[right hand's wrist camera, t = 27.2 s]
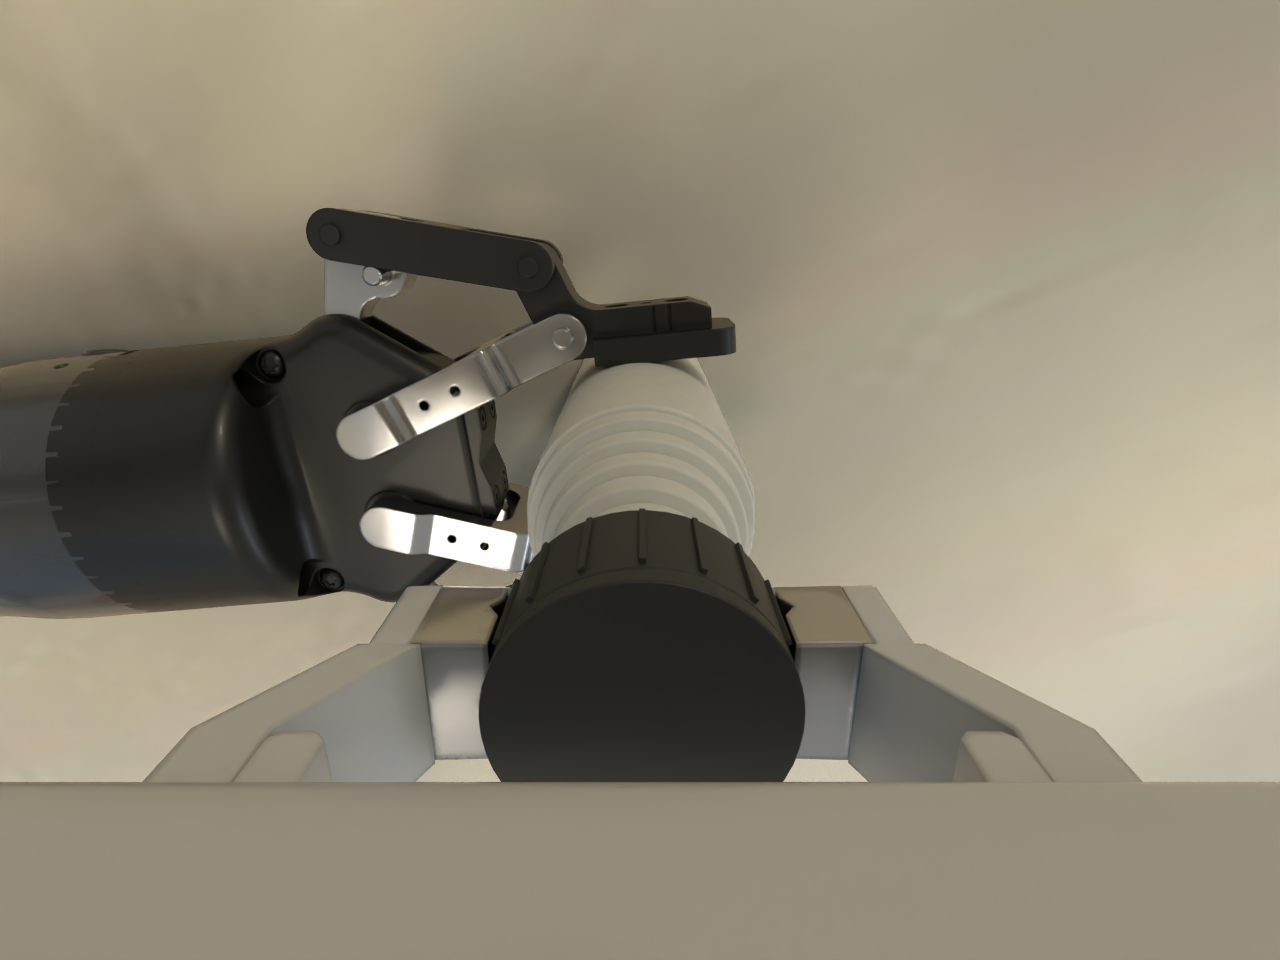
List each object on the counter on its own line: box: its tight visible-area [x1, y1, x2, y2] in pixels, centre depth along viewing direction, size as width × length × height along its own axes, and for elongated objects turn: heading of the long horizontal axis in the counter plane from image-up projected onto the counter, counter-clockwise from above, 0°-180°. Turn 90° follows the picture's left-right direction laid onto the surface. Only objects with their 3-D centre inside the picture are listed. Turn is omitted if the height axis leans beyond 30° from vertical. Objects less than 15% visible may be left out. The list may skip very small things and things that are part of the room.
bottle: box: [527, 358, 756, 557], centre depth 17 cm, size 5×5×18 cm
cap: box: [479, 508, 806, 782], centre depth 9 cm, size 4×4×2 cm
